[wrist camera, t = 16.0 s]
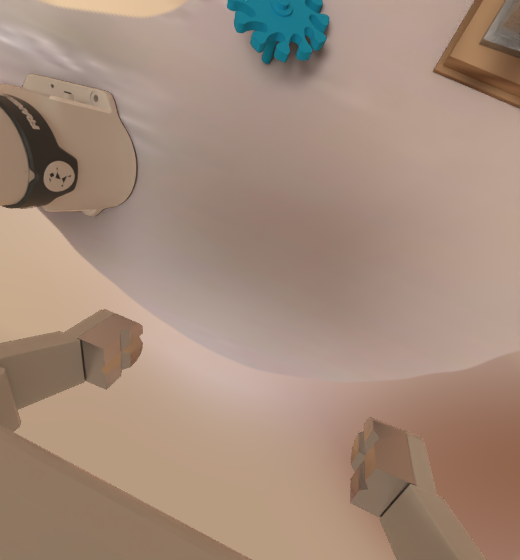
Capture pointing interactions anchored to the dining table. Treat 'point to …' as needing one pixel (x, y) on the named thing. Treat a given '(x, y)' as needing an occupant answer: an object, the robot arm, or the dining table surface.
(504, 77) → the stand
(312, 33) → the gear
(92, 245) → the dining table surface
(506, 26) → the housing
